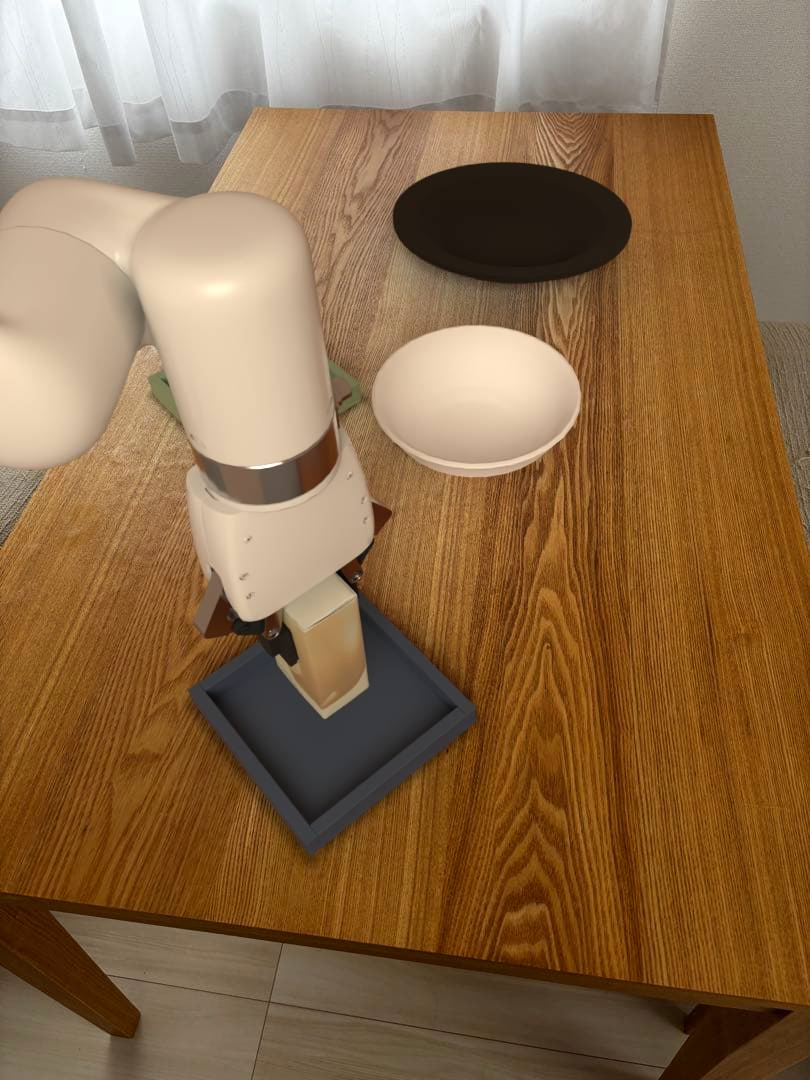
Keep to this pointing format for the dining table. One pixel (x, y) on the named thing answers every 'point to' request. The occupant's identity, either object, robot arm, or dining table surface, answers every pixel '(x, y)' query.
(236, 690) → the slate tray
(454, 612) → the dining table surface
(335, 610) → the cosmetic box
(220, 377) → the robot arm
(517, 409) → the bowl
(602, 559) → the dining table surface
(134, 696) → the dining table surface
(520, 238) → the plate
